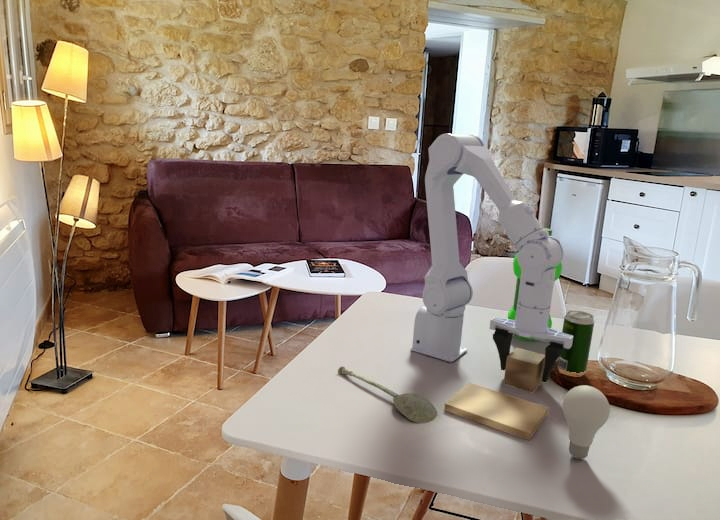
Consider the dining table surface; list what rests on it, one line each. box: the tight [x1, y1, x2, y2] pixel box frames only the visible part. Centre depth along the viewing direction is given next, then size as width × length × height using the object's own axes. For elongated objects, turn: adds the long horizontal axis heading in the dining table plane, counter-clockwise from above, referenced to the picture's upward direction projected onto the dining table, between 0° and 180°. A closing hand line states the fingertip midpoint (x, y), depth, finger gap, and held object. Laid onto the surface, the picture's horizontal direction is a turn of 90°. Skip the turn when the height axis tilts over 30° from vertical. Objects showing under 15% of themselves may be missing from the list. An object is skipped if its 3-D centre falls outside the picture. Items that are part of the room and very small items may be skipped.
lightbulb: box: [562, 384, 611, 460], centre depth 77 cm, size 6×6×11 cm
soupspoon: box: [337, 365, 438, 425], centre depth 93 cm, size 22×3×7 cm
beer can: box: [556, 309, 595, 373], centre depth 105 cm, size 5×5×12 cm
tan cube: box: [503, 347, 545, 394], centre depth 100 cm, size 6×6×6 cm
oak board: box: [443, 382, 549, 441], centre depth 90 cm, size 14×10×1 cm
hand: (524, 374), depth 101 cm, fingers open, 7 cm apart
